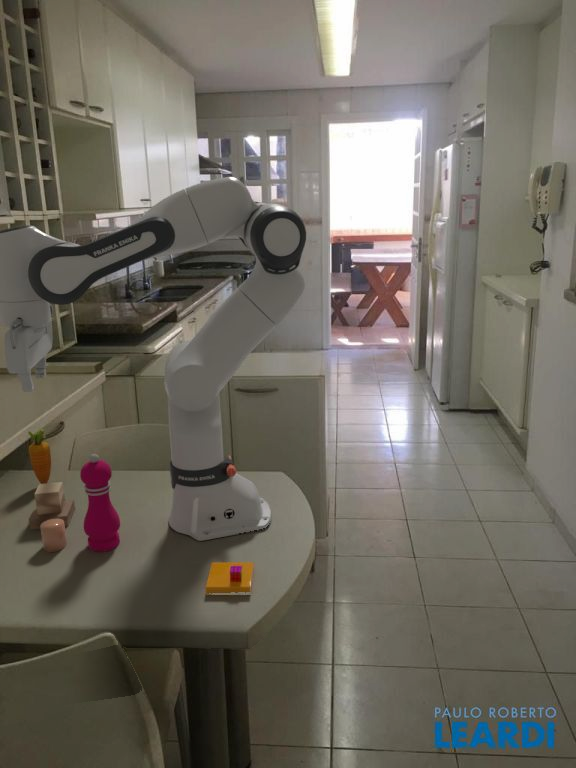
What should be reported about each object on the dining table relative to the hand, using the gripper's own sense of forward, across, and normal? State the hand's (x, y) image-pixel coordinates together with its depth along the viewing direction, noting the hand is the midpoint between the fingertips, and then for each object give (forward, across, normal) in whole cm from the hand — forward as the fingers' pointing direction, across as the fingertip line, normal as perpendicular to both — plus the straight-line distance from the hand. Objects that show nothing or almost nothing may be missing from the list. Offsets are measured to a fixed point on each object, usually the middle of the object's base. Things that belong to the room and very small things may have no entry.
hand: (35, 383), depth 123 cm
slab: (+34, +9, +2) cm, 36 cm away
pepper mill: (+34, -4, -11) cm, 36 cm away
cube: (+31, +9, +2) cm, 33 cm away
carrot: (+34, +27, +8) cm, 44 cm away
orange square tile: (+34, -22, -36) cm, 55 cm away
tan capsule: (+34, -3, -1) cm, 34 cm away
